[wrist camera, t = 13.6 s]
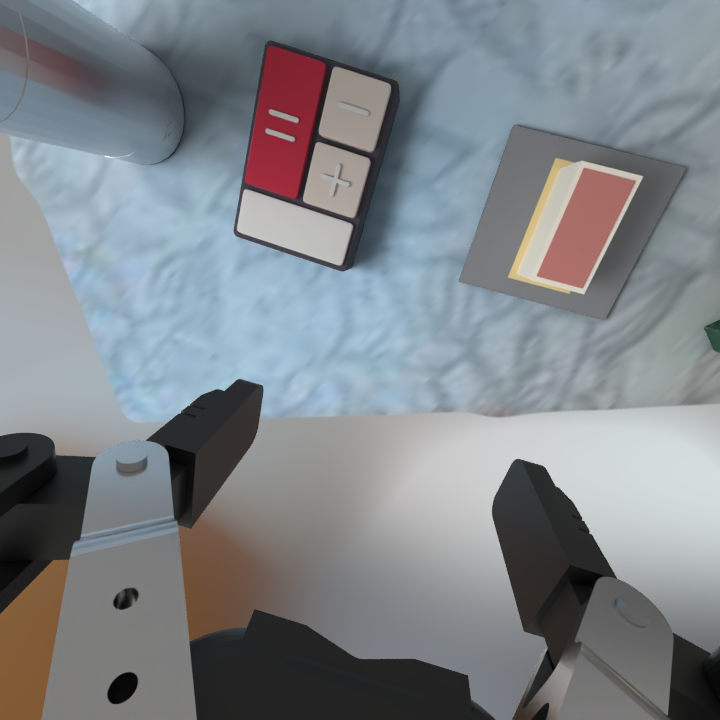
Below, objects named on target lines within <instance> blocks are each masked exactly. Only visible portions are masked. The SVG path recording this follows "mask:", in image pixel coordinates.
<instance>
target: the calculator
mask: <svg viewBox="0 0 720 720" xmlns="http://www.w3.org/2000/svg"><path fill="white" fill-rule="evenodd" d="M398 104H399V85H398V83H397V82H396V81H395V80H392V79H389V78H386V77H383V76H380V75H376V74H373V73H370V72H367V71H364V70H361V69H358V68H355V67H352V66H349V65H345V64H342V63H339V62H336V61H333V60H330V59H327V58H324V57H321V56H318V55H314V54H311V53H308V52H305V51H302V50H299V49H296V48H293V47H290V46H287V45H284V44H280V43H277V42H274V41H268V42H267V43H266V45H265V50H264V55H263V61H262V67H261V73H260V79H259V85H258V91H257V96H256V102H255V108H254V114H253V120H252V126H251V132H250V138H249V143H248V149H247V155H246V161H245V167H244V173H243V179H242V184H241V190H240V196H239V202H238V208H237V214H236V220H235V226H234V234H235V235H236V236H237V237H240V238H243V239H246V240H249V241H252V242H255V243H258V244H261V245H264V246H267V247H270V248H273V249H276V250H279V251H282V252H285V253H288V254H291V255H294V256H297V257H300V258H303V259H306V260H309V261H312V262H315V263H318V264H321V265H324V266H327V267H330V268H333V269H336V270H339V271H346V270H348V269H350V268H351V267H352V265H353V262H354V258H355V255H356V251H357V248H358V244H359V241H360V237H361V234H362V230H363V226H364V222H365V218H366V215H367V211H368V208H369V205H370V201H371V198H372V194H373V191H374V187H375V184H376V180H377V177H378V174H379V170H380V167H381V163H382V160H383V156H384V153H385V149H386V146H387V143H388V139H389V136H390V132H391V129H392V125H393V122H394V118H395V115H396V111H397V108H398Z"/></svg>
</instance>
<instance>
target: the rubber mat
mask: <svg viewBox="0 0 720 720" xmlns="http://www.w3.org/2000/svg"><path fill="white" fill-rule="evenodd" d="M579 161H585V162H589V163H593V164H597V165H601V166H605V167H609V168H613V169H617V170H621V171H624V172H628V173H632V174H636V175H640V176H643V178H642V180H641V182H640V184H639V186H638V188H637V190H636V192H635V194H634V196H633V198H632V200H631V202H630V204H629V206H628V208H627V210H626V212H625V214H624V216H623V218H622V220H621V222H620V224H619V226H618V228H617V230H616V232H615V234H614V236H613V238H612V240H611V242H610V244H609V246H608V248H607V250H606V252H605V254H604V256H603V258H602V260H601V262H600V264H599V266H598V268H597V270H596V272H595V274H594V276H593V278H592V280H591V282H590V284H589V286H588V288H587V290H586V292H585V294H581V293H577V292H573V291H569V290H566V289H562V288H558V287H555V286H551V285H547V284H543V283H540V282H536V281H532V280H529V279H527V278H525V277H523V276H521V275H519V274H517V271H518V269H519V266H520V264H521V261H522V259H523V257H524V254H525V252H526V249H527V247H528V245H529V242H530V240H531V237H532V235H533V233H534V230H535V228H536V225H537V223H538V220H539V218H540V216H541V213H542V211H543V208H544V206H545V204H546V201H547V199H548V196H549V194H550V192H551V189H552V187H553V184H554V182H555V180H556V177H557V175H558V172H559V170H560V168H563V167H566V166H568V165H571V164H574V163H576V162H579ZM685 169H686V167H682V166H678V165H673V164H669V163H665V162H661V161H657V160H653V159H649V158H645V157H641V156H637V155H633V154H629V153H625V152H621V151H617V150H613V149H609V148H605V147H601V146H597V145H593V144H589V143H585V142H581V141H576V140H572V139H568V138H564V137H560V136H556V135H552V134H548V133H544V132H540V131H536V130H532V129H528V128H524V127H520V126H516V125H514V126H513V127H512V130H511V133H510V136H509V139H508V142H507V145H506V147H505V150H504V153H503V156H502V159H501V162H500V165H499V167H498V170H497V173H496V176H495V179H494V182H493V185H492V188H491V190H490V193H489V196H488V199H487V202H486V205H485V208H484V210H483V213H482V216H481V219H480V222H479V225H478V228H477V230H476V233H475V236H474V239H473V242H472V245H471V248H470V251H469V253H468V256H467V259H466V262H465V265H464V268H463V271H462V273H461V276H460V279H459V282H462V283H466V284H470V285H474V286H477V287H481V288H485V289H489V290H492V291H496V292H500V293H504V294H507V295H511V296H515V297H519V298H522V299H526V300H530V301H534V302H537V303H541V304H545V305H549V306H552V307H556V308H560V309H564V310H567V311H571V312H575V313H579V314H582V315H586V316H590V317H594V318H597V319H601V320H605V319H606V317H607V315H608V313H609V311H610V309H611V307H612V305H613V304H614V302H615V300H616V298H617V296H618V294H619V292H620V291H621V289H622V287H623V285H624V283H625V281H626V279H627V277H628V276H629V274H630V272H631V270H632V268H633V266H634V264H635V263H636V261H637V259H638V257H639V255H640V253H641V251H642V249H643V248H644V246H645V244H646V242H647V240H648V238H649V236H650V235H651V233H652V231H653V229H654V227H655V225H656V223H657V221H658V220H659V218H660V216H661V214H662V212H663V210H664V208H665V207H666V205H667V203H668V201H669V199H670V197H671V195H672V193H673V192H674V190H675V188H676V186H677V184H678V182H679V180H680V179H681V177H682V175H683V173H684V171H685Z"/></svg>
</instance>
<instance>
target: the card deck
mask: <svg viewBox="0 0 720 720" xmlns="http://www.w3.org/2000/svg"><path fill="white" fill-rule="evenodd" d="M642 178H643V176H640V175H636V174H632V173H628V172H624V171H621V170H617V169H613V168H609V167H605V166H601V165H597V164H593V163H589V162H585V161H579V162H576V163H574V164H571V165H568V166H566V167H563V168H560V170H559V172H558V175H557V177H556V180H555V182H554V184H553V187H552V189H551V192H550V194H549V196H548V199H547V201H546V204H545V206H544V208H543V211H542V213H541V216H540V218H539V220H538V223H537V225H536V228H535V230H534V233H533V235H532V237H531V240H530V242H529V245H528V247H527V249H526V252H525V254H524V257H523V259H522V261H521V264H520V266H519V269H518V271H517V274H519V275H521V276H523V277H525V278H527V279H529V280H532V281H536V282H540V283H543V284H547V285H551V286H555V287H558V288H562V289H566V290H569V291H573V292H577V293H581V294H585V292H586V290H587V288H588V286H589V284H590V282H591V280H592V278H593V276H594V274H595V272H596V270H597V268H598V266H599V264H600V262H601V260H602V258H603V256H604V254H605V252H606V250H607V248H608V246H609V244H610V242H611V240H612V238H613V236H614V234H615V232H616V230H617V228H618V226H619V224H620V222H621V220H622V218H623V216H624V214H625V212H626V210H627V208H628V206H629V204H630V202H631V200H632V198H633V196H634V194H635V192H636V190H637V188H638V186H639V184H640V182H641V180H642Z"/></svg>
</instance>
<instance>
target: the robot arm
mask: <svg viewBox="0 0 720 720" xmlns="http://www.w3.org/2000/svg"><path fill="white" fill-rule="evenodd" d="M183 126H184V107H183V102H182V98H181V94H180V91H179V88H178V86H177V83H176V81H175V79H174V78H173V76H172V74H171V73H170V71H169V69H168V68H167V67H166V66H165V65H164V63H163V62H162V61H161V60H160V59H159V58H157V57H156V56H155V55H154V54H153V53H151V52H150V51H148V50H147V49H145V48H144V47H142V46H141V45H139V44H138V43H136V42H135V41H133V40H132V39H130V38H128V37H127V36H125V35H124V34H122V33H121V32H119V31H118V30H117V29H115V28H114V27H112V26H111V25H109V24H108V23H106V22H105V21H103V20H101V19H100V18H98V17H97V16H95V15H94V14H92V13H91V12H89V11H88V10H86V9H85V8H83V7H82V6H80V5H79V4H77V3H75V2H74V1H72V0H0V133H3V134H7V135H11V136H16V137H20V138H25V139H29V140H34V141H38V142H43V143H48V144H52V145H57V146H61V147H66V148H70V149H75V150H79V151H84V152H88V153H93V154H98V155H102V156H106V157H110V158H115V159H120V160H124V161H129V162H133V163H138V164H149V165H151V164H155V163H159V162H161V161H163V160H165V159H166V158H168V157H169V156H170V155H171V154H172V153H173V152H174V150H175V149H176V147H177V145H178V144H179V142H180V139H181V136H182V133H183ZM262 398H263V386H262V385H259V384H256V383H252V382H249V381H245V380H242V379H238V380H236V381H235V382H234V383H233V384H232V385H231V386H230V387H229V388H228V389H226V390H225V391H222V390H218V389H217V390H214V391H211V392H208V393H206V394H203V395H201V396H200V397H199V398H197V399H196V400H195V401H194V402H192V403H191V404H190V406H187V407H186V408H185V409H184V410H183V411H181V414H178V415H176V416H175V417H174V418H173V419H172V420H170V421H169V422H168V423H167V424H165V425H164V426H163V427H162V428H160V429H159V430H158V431H157V432H156V433H154V434H153V435H152V436H151V437H149V438H148V439H147V440H146V441H141V440H138V441H128V442H123V443H120V444H117V445H114V446H112V447H110V448H108V449H106V450H104V451H103V452H102V453H101V454H99V455H98V456H97V457H78V456H58V455H56V454H55V446H54V443H53V441H52V440H51V439H50V438H49V437H47V436H44V435H41V434H35V433H16V434H8V435H3V436H0V613H1V612H2V611H3V610H4V609H5V608H6V607H7V606H8V605H9V604H10V603H11V602H12V601H13V600H14V599H15V598H16V597H17V596H18V595H19V594H20V593H21V592H22V591H23V590H24V589H25V588H26V587H27V586H28V585H29V584H30V583H31V582H32V581H33V580H34V579H35V578H36V577H37V576H38V575H39V574H40V572H42V571H43V570H44V569H45V568H46V566H48V565H49V564H50V563H51V562H52V561H53V560H66V559H67V560H68V559H70V561H69V567H68V573H67V578H66V584H65V589H64V595H63V601H62V606H61V613H60V618H59V623H58V629H57V635H56V640H55V646H54V651H53V657H52V663H51V669H50V674H49V680H48V685H47V691H46V697H45V702H44V709H43V714H42V719H41V720H495V719H494V718H493V717H492V716H491V715H490V714H489V713H488V712H487V711H485V710H484V709H483V708H482V707H481V706H479V705H478V704H477V703H475V702H474V701H472V700H471V696H470V688H469V680H468V675H464V674H461V673H458V672H455V671H452V670H448V669H445V668H442V667H439V666H435V665H432V664H429V663H426V662H423V661H419V660H416V659H358V658H355V657H354V656H352V655H350V654H349V653H347V652H346V651H344V650H343V649H341V648H340V647H338V646H337V645H335V644H334V643H332V642H331V641H329V640H328V639H326V638H324V637H323V636H322V635H320V634H319V633H317V632H315V631H314V630H312V629H311V628H309V627H308V626H306V625H303V624H300V623H297V622H294V621H291V620H287V619H284V618H281V617H278V616H275V615H271V614H268V613H265V612H262V611H258V610H254V612H253V614H252V617H251V620H250V622H249V625H248V627H247V628H233V629H225V630H220V631H217V632H213V633H210V634H206V635H204V636H202V637H199V638H197V639H194V640H192V641H190V642H189V634H188V624H187V613H186V603H185V593H184V583H183V574H182V573H183V572H182V563H181V552H180V541H179V531H178V525H181V526H184V527H187V528H190V529H191V528H192V526H193V525H194V524H195V522H196V521H197V519H198V518H199V517H200V515H201V514H202V513H203V511H204V510H205V508H206V507H207V505H208V504H209V503H210V501H211V500H212V499H213V497H214V496H215V495H216V493H217V492H218V491H219V489H220V488H221V486H222V485H223V484H224V482H225V481H226V479H227V478H228V477H229V475H230V474H231V473H232V471H233V470H234V468H235V467H236V466H237V464H238V463H239V461H240V460H241V459H242V457H243V456H244V454H245V453H246V452H247V451H248V449H249V448H250V446H251V444H252V443H253V441H254V439H255V436H256V433H257V429H258V424H259V418H260V411H261V404H262ZM492 516H493V520H494V524H495V528H496V531H497V535H498V539H499V542H500V546H501V550H502V553H503V556H504V560H505V564H506V567H507V571H508V575H509V578H510V582H511V586H512V589H513V593H514V597H515V600H516V604H517V607H518V611H519V615H520V619H521V622H522V626H523V630H524V631H525V632H528V633H531V634H534V635H538V636H541V637H544V638H545V641H546V644H547V647H546V649H545V650H544V651H543V652H542V654H541V656H540V658H539V660H538V663H537V665H536V667H535V669H534V672H533V674H532V676H531V678H530V681H529V683H528V685H527V687H526V689H525V692H524V694H523V696H522V698H521V700H520V703H519V705H518V707H517V710H516V712H515V714H514V716H513V718H512V720H720V646H719V647H718V648H717V649H716V650H715V651H714V652H713V653H712V654H710V653H709V652H707V651H705V650H703V649H701V648H699V647H698V646H696V645H694V644H692V643H691V642H689V641H687V640H685V639H683V638H682V637H680V636H678V635H676V634H674V633H672V630H671V628H670V625H669V624H668V622H667V620H666V619H665V617H664V616H663V614H662V613H661V612H660V611H659V610H658V608H657V607H656V606H655V605H654V604H653V603H652V602H651V601H650V600H649V599H648V598H647V597H645V596H644V595H643V594H642V593H641V592H639V591H638V590H637V589H635V588H634V587H632V586H631V585H629V584H627V583H625V582H623V581H621V580H619V579H617V578H616V576H615V574H614V572H613V571H612V569H611V567H610V566H609V564H608V562H607V560H606V558H605V557H604V555H603V554H602V552H601V550H600V548H599V547H598V545H597V543H596V541H595V540H594V538H593V536H592V535H591V534H589V529H588V527H587V526H586V524H585V522H584V521H582V517H581V515H580V514H579V512H578V510H577V508H576V507H575V505H574V503H573V502H572V501H571V500H570V499H569V498H568V497H567V496H566V495H565V494H564V493H563V492H562V491H561V490H560V489H559V488H558V487H556V486H555V484H554V483H553V481H552V479H551V477H550V475H549V473H548V472H547V470H546V468H545V467H543V466H541V465H538V464H534V463H530V462H527V461H524V460H520V459H516V460H515V461H514V462H513V463H512V464H511V466H510V468H509V470H508V472H507V474H506V476H505V478H504V480H503V482H502V484H501V486H500V488H499V490H498V492H497V493H496V495H495V498H494V501H493V506H492Z"/></svg>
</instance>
